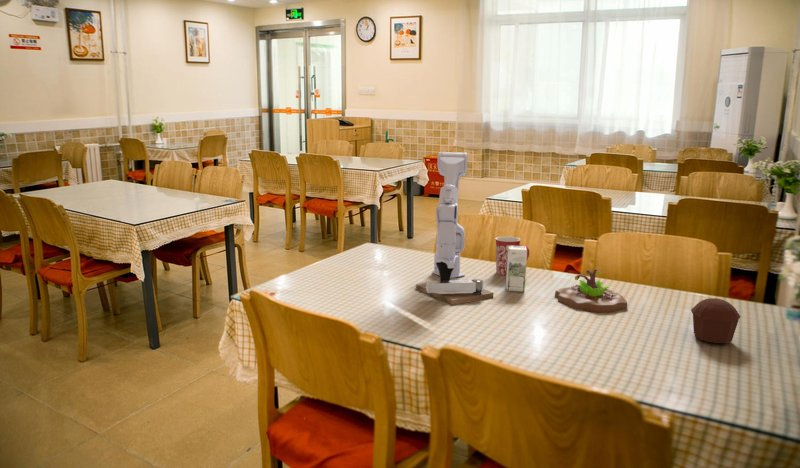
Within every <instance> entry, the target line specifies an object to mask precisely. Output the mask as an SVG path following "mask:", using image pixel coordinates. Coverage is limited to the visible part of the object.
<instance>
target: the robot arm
mask: <svg viewBox="0 0 800 468" xmlns="http://www.w3.org/2000/svg"><path fill="white" fill-rule="evenodd" d="M436 165H437V166H436V167H437V170H438V173H439V175H440V176H443V178H444V181H443V183H444V185H443V186H442V187H441V188H440V189H439V197H438V198H439V199H438V205H436V209H435V211H436V212H435V220H436V229H437V230H436V241H435V245H436V251H435V253H434V257H433V259H434V261H433V271H431V273H432V274H434V275H437V276H439V280H440V281H446V280H450V279H452V278H459V277H465V276H466V275H465V274H464V273H462V272H461V251H464V250H465V242H466V234H465V228H464V226H462V225H461V224H459V223H458V220H459V190H460V189H459V187H460V186H459V185H460V180H461V177H464V176H466V175H467V172H468V153H467V152H466V151H465V152H458V151H457V152H456V151H455V152H454V151H453V152H452V151H451V152H450V151H449V152H448V151H439V152H438V153H437V164H436Z"/></svg>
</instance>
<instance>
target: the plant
mask: <svg viewBox="0 0 800 468" xmlns="http://www.w3.org/2000/svg"><path fill="white" fill-rule="evenodd" d="M601 273H602V272H601V271H600V269H599V268H595V269H593V271H591V270H590V269H587V270H586V272H585V274H577V275H575V276H574V280H576V281H577V280H579V281H578V283H579V284H575V285H573V286H570V287H567V286H566V287H563V288H562V287H561V288H558V289H557V290H555V292H554V297H555V298H557V302H559V303H561V304H564V305H565V306H566V305H567V306H568V307H571V308H573V309H575V310H580V311H581V310H582V311H585V312H589V313H590V312H591V313H614V312H615V311H621V310H622V311H623V309H624V310H627V309H628V302H627V300H626V299H625V298H624V296H623V295H622V294H618V292H615V291H613V290H612V289H609V288H610V285H606V286H604V285H603V284H604V282H603V281H600V280H596V275H597V276H600V275H601ZM587 276H589V278H588V277H587ZM580 278H584V279H585V280H586V281H584V280H581V279H580Z"/></svg>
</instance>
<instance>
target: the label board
mask: <svg viewBox="0 0 800 468" xmlns="http://www.w3.org/2000/svg"><path fill="white" fill-rule="evenodd" d="M450 280H460V279H458V278H457V277H454V278H450ZM438 281H440V279H439V280H438ZM415 289H416V290H418V291H420V292H423V293H425V294H426V295H429V296H432V297H434V298H437V300H441V301H443V302H444V303H448V304H450V305H452V306H455V305H461V304H465V303H469V302H476V301H477V302H478V301H481V300H486V299H491V298H494V292H493V291H489V290H487V289H485V288H483V292H448V293H428V292H427V291H426V282H421V283H416V284H415Z"/></svg>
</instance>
